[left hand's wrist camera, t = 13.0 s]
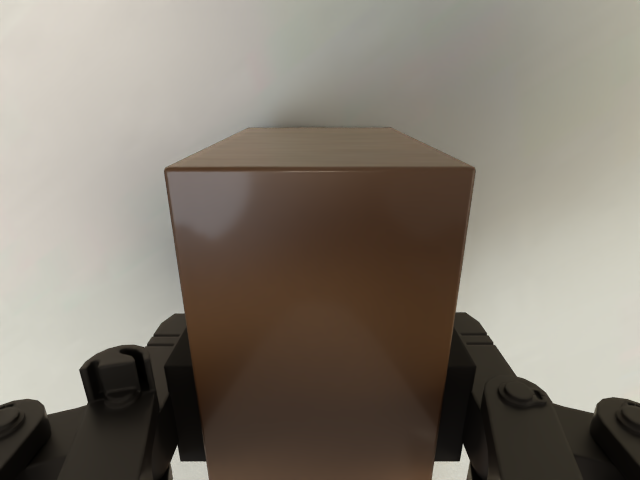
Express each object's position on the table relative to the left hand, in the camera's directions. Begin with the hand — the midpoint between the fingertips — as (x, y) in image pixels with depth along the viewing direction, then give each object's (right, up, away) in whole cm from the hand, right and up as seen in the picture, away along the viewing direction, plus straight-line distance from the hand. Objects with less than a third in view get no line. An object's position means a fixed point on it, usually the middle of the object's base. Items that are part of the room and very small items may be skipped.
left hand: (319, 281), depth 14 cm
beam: (0, -30, +12) cm, 32 cm away
